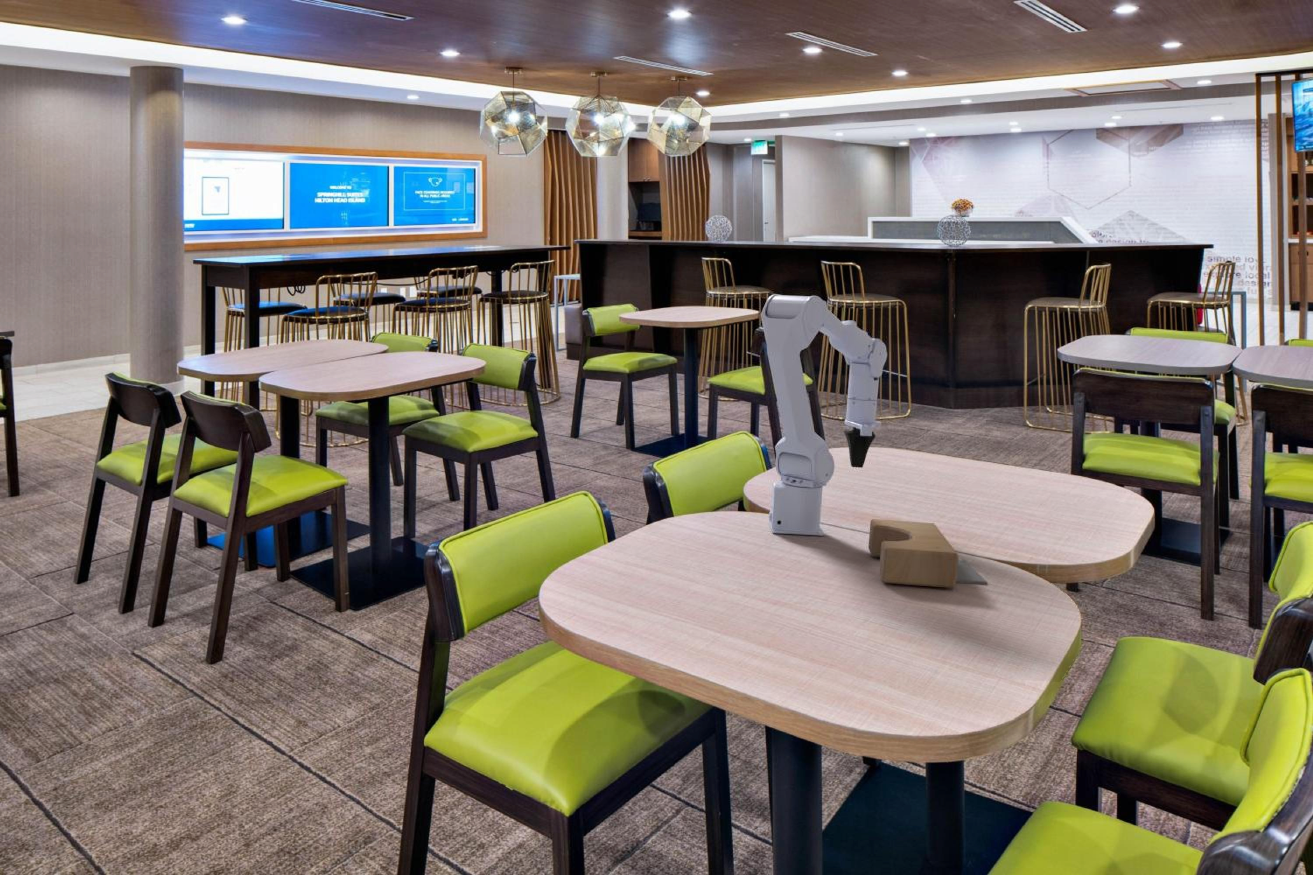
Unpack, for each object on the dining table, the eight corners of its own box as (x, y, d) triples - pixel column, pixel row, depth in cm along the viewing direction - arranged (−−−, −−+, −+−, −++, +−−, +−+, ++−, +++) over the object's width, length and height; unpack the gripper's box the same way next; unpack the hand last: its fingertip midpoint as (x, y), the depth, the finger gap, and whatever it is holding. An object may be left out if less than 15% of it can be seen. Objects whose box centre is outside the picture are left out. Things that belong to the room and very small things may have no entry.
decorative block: (867, 549, 164) (881, 582, 144) (870, 517, 163) (885, 546, 143) (932, 555, 163) (955, 590, 143) (936, 523, 162) (960, 553, 142)
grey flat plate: (896, 578, 148) (896, 576, 148) (881, 558, 160) (881, 555, 160) (986, 584, 148) (986, 581, 148) (964, 562, 160) (965, 560, 160)
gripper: (890, 404, 178) (884, 474, 180) (875, 396, 193) (870, 461, 195) (852, 402, 179) (847, 472, 181) (841, 394, 193) (835, 459, 195)
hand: (856, 466), depth 188 cm, fingers closed
